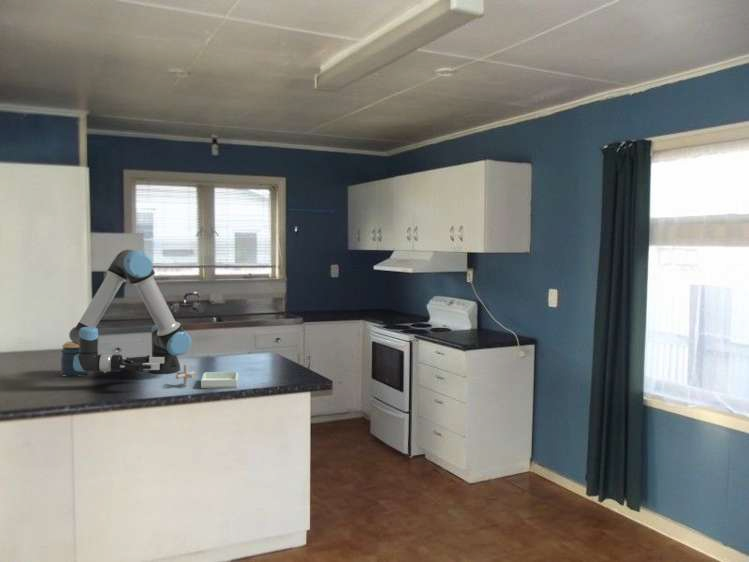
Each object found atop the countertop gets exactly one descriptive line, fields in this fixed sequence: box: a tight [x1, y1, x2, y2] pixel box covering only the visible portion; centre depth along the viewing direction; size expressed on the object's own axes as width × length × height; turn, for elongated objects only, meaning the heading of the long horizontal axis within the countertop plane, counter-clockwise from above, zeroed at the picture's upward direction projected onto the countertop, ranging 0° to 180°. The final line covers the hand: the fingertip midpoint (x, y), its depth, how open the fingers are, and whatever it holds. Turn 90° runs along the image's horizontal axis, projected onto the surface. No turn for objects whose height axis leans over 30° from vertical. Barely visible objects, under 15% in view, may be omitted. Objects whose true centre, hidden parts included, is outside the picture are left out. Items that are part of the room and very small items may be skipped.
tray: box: [200, 371, 239, 389], centre depth 295 cm, size 16×16×4 cm
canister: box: [59, 340, 91, 376], centre depth 306 cm, size 13×13×18 cm
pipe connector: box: [175, 363, 196, 387], centre depth 290 cm, size 10×10×10 cm
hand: (161, 363), depth 288 cm, fingers open, 13 cm apart
